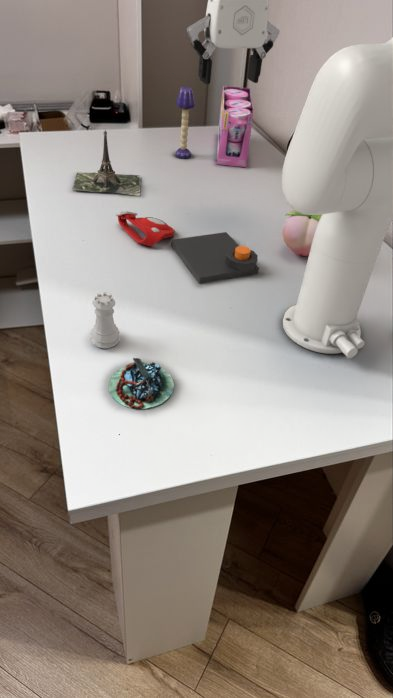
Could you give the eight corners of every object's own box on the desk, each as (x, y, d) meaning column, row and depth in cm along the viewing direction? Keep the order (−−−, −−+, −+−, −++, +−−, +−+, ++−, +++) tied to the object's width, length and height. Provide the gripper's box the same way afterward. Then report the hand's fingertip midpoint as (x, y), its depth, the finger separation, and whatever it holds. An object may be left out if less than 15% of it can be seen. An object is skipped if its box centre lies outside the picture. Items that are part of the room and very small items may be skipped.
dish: (182, 388, 71) (138, 353, 69) (147, 428, 71) (102, 395, 69) (176, 372, 78) (136, 340, 76) (144, 408, 79) (104, 378, 77)
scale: (260, 274, 99) (263, 260, 97) (199, 285, 94) (201, 270, 92) (227, 237, 108) (228, 224, 106) (170, 245, 104) (171, 232, 102)
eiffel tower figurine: (140, 177, 127) (141, 119, 119) (139, 195, 120) (140, 135, 111) (77, 174, 126) (73, 115, 117) (72, 192, 118) (67, 131, 110)
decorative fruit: (326, 249, 108) (338, 203, 101) (322, 269, 102) (335, 222, 95) (280, 240, 109) (290, 194, 103) (274, 259, 103) (284, 211, 97)
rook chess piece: (114, 352, 79) (113, 309, 74) (86, 346, 79) (83, 303, 74) (124, 334, 82) (123, 291, 77) (96, 328, 83) (94, 286, 77)
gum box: (247, 170, 136) (255, 114, 128) (216, 167, 136) (222, 111, 127) (244, 138, 155) (251, 87, 146) (217, 135, 155) (222, 85, 146)
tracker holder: (176, 220, 110) (177, 233, 101) (169, 240, 112) (170, 254, 103) (118, 203, 107) (114, 214, 98) (113, 224, 109) (109, 236, 100)
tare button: (252, 259, 97) (253, 252, 96) (238, 261, 96) (239, 254, 95) (245, 252, 99) (246, 244, 98) (231, 254, 98) (232, 246, 97)
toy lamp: (190, 160, 138) (196, 91, 128) (173, 158, 138) (176, 90, 127) (191, 153, 142) (196, 86, 131) (173, 152, 142) (177, 84, 131)
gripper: (201, -34, 80) (193, 88, 91) (299, -28, 86) (280, 86, 97) (183, -40, 85) (177, 77, 96) (276, -34, 91) (260, 75, 102)
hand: (228, 81), depth 96 cm, fingers open, 9 cm apart
